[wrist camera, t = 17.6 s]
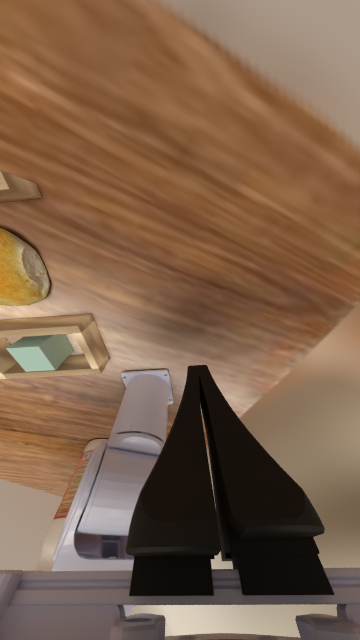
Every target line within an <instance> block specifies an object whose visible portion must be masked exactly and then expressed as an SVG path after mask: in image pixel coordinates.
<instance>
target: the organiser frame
mask: <svg viewBox="0 0 360 640" xmlns="http://www.w3.org/2000/svg"><path fill="white" fill-rule="evenodd" d="M39 198H42V196H41V194H40V191H39V189H38V187H37V184H36V183H33V182H30V181H28V180H25V179H22V178H19V177H17V176H14V175H11V174H9V173H6V172H3V171H0V202H8V201H18V200H28V199H39ZM72 333H73V334H74V336H75V338H76V340H77V342H78V344H79V346H80V347H81V349H82V351H83V353H84V355H74V356H68V357H67V358H66V359H65V360H64V361H63V362H62V363H61V365H60V366H59V367H58V368H57V369H56V370H49V371H31V372H26V371H25V370H24V369H23V368H22V367H21V366H20V364H19V363H18V362H17V361H16V360H15V359H14V357H13V356H12V355H11V354H10V353H9V352H8V350H7V349H6V348H7V347H9V346H10V344H9V342H8V341H7V340H6V339H5V338H11V337H26V336H42V335H57V334H72ZM109 359H110V357H109V354H108V352H107V350H106V347H105V345H104V343H103V340H102V338H101V335H100V333H99V331H98V328H97V326H96V324H95V321H94V319H93V317H92V314H81V315H66V316H52V317H38V318H23V319H9V320H0V379H10V378H28V377H46V376H64V375H81V374H99V373H102V371H103V370H104V368H105V366H106V364H107V363H108V361H109Z"/></svg>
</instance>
